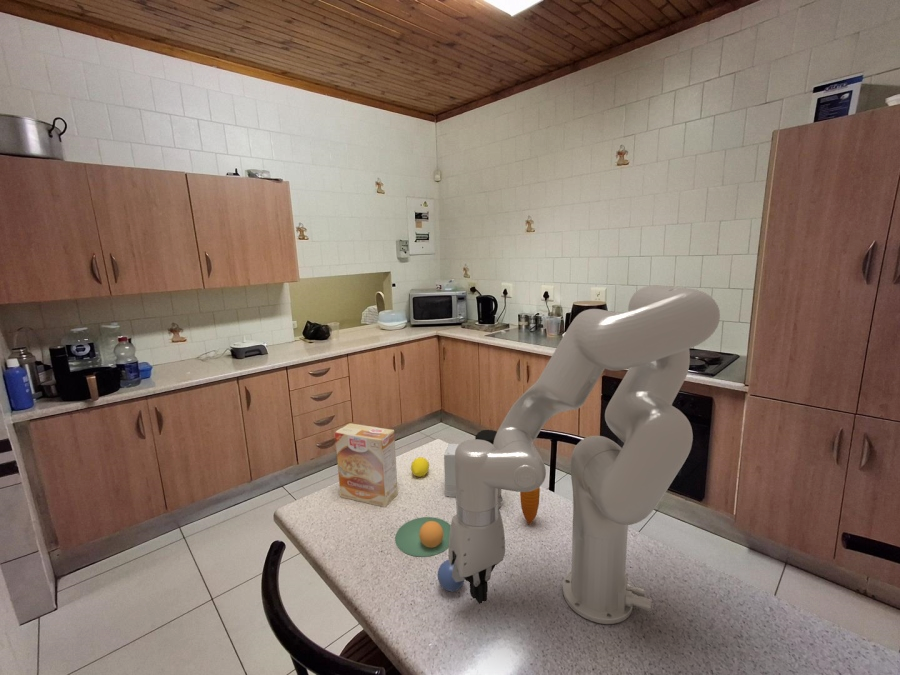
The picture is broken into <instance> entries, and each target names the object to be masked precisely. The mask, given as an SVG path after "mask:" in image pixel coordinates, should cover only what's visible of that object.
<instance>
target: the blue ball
mask: <svg viewBox="0 0 900 675" xmlns="http://www.w3.org/2000/svg"><path fill="white" fill-rule="evenodd" d="M453 567H454V565H450V563H449V559H447V560H446V559H445V561H443V562H442V563H441V564H440V565H439V567H438V570H437V581H438V583H439V585H440V586H441V588H442V589H443V590H445V591H447V592H456V591H458V590H460V589H461V588H462V586H464V583H465V581H466V580H464V581H460V582H455V580H454V579H453V578H452V572H453Z"/></svg>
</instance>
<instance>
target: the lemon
mask: <svg viewBox="0 0 900 675" xmlns="http://www.w3.org/2000/svg"><path fill="white" fill-rule="evenodd" d="M429 468H430V463H429V461H428V460H427V459H426V458H424V457H421V456H420V457H417V458H415V459H414V460H413V461H412V463H411V465H410V471H411V473H412V474H413V475H414V476H416V477H419V478H420V477H424V476H426V475H427V473H428V471H429V470H430V469H429Z"/></svg>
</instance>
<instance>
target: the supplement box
mask: <svg viewBox="0 0 900 675" xmlns="http://www.w3.org/2000/svg"><path fill="white" fill-rule="evenodd" d="M459 444H460V443H448V445H447V448H446V449H445V452H444V454H443V461H444V462H443V466H444V469H443V470H444V496H445V497H447V496H449V498H456V478H455V451H456V448H457V447H458V445H459Z"/></svg>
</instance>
